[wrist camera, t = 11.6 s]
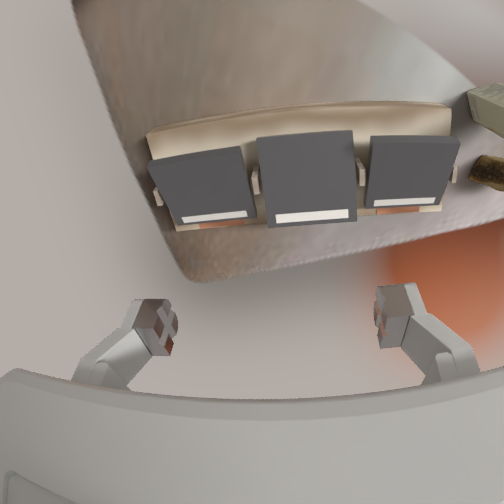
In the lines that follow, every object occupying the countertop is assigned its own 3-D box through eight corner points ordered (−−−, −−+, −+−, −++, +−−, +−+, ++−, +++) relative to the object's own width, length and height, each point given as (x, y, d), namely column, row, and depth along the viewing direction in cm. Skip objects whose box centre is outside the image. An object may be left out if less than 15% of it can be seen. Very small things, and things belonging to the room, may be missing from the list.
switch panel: (154, 127, 37) (134, 144, 32) (440, 103, 31) (465, 117, 26) (182, 219, 45) (169, 246, 40) (433, 199, 39) (451, 225, 34)
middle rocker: (257, 137, 33) (255, 138, 31) (350, 129, 31) (352, 130, 30) (268, 224, 37) (268, 228, 36) (355, 217, 35) (357, 221, 34)
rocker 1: (149, 160, 32) (146, 168, 32) (240, 145, 31) (239, 153, 30) (179, 218, 40) (178, 226, 40) (256, 210, 39) (256, 218, 38)
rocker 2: (370, 135, 28) (373, 143, 28) (456, 136, 27) (460, 144, 26) (363, 201, 37) (365, 209, 36) (436, 197, 35) (439, 205, 34)
